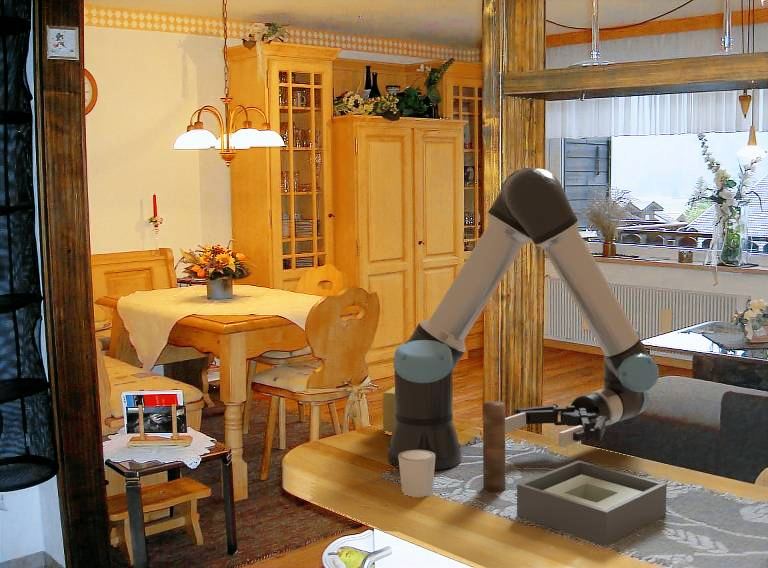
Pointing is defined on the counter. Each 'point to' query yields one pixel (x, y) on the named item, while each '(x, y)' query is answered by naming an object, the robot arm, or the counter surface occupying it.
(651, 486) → the open box
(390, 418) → the cheese
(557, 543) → the counter surface
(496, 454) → the peg
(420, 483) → the white cup
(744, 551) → the counter surface
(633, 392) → the robot arm
